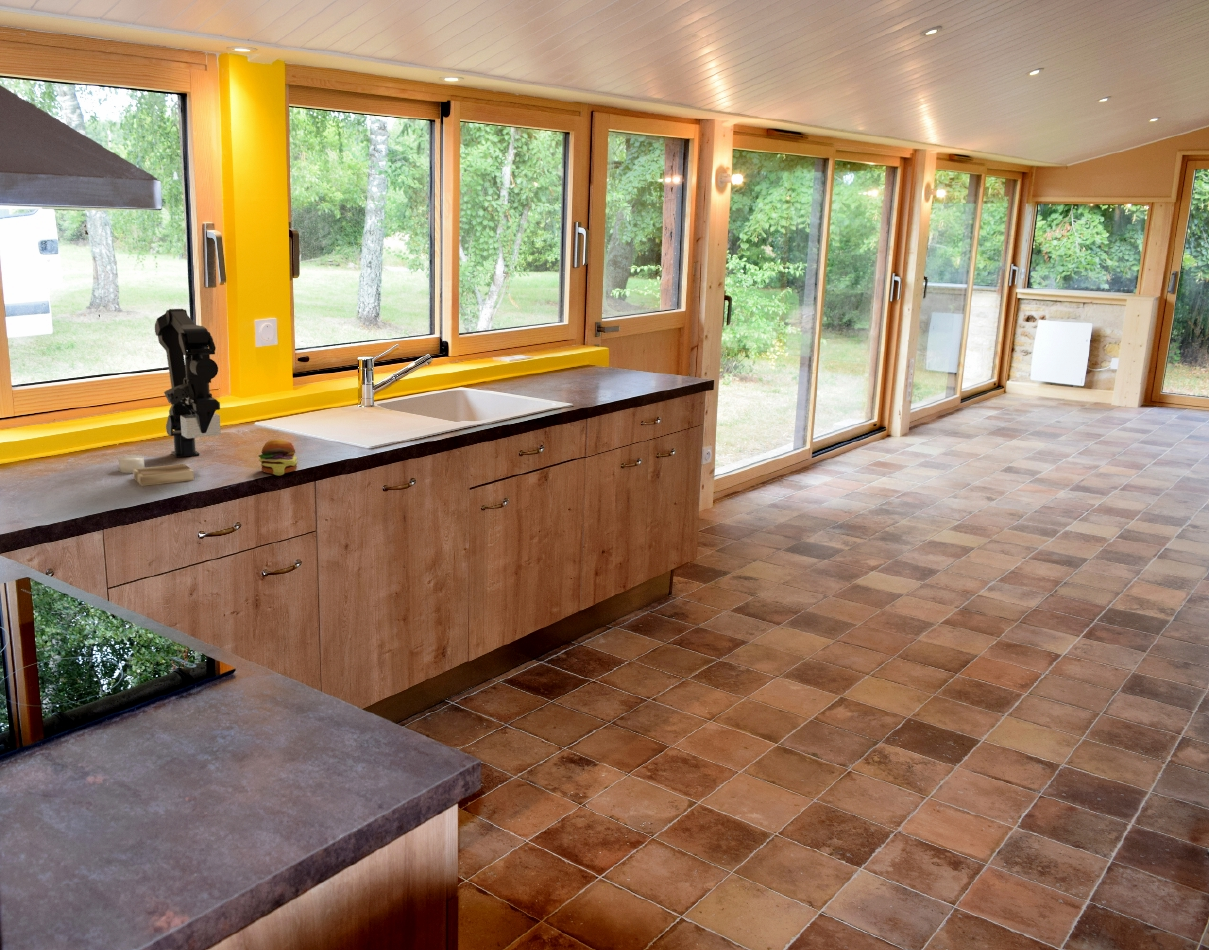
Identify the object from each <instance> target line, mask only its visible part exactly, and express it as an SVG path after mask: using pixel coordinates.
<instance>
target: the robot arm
mask: <svg viewBox="0 0 1209 950" xmlns="http://www.w3.org/2000/svg"><path fill="white" fill-rule="evenodd" d="M154 334H155V336H156V337H157V339H158V343H159V344H160V346H161V347H162V348H163V349H164V350H165V352H166V359H167V366H168V373H169V379H170V387H171V388H169V389H167V390H165V391H163V393H164V396H165V398H166V400H167V401H168V403H169V404H170V408H169V410H168V412H169V413H168V415H167V421H166V426H165V429H166V434H167V435H168V436H170V437H173V446H174V451H171V454H172V455H173V456H174V457H175V458H184V457H194V456H199V455H200V453H199V451H197V450H196V438H186V437H184V436H182V434H181V419H180V415H190V414H195V413H196V414H197V416H198V420H199V425H200V429H201V433H206V432H207V429H208V427H209V424H210V422H211V419H212V417H213V415H214V413H216V411H219V410H221V403H220V401H219V400H217V399H216V398H215V397H213V394H212V393H211V392H210V384H211V383H212V380H213V379H214V378H216V376H217V375H218V372H219V367H218V364H217V362H216V361H215V360H214V359H212V358H211V357H210V355H216V348H217V347H216V345H215V341H214V338H213V336H212V335H211V332H210V331H209V330H208V329H207V328H206V327H205V326H202V325H199V324H198V325H197V324H195V322H194V321H193V320H192V318H191V317H190V316H189V315H188V312H187V310H186V309H184V308H170V309H167V310H166V311H165V313H164V314H162V315H161V316H159V317H157V319H156V321H155V323H154Z"/></svg>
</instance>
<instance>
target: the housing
mask: <svg viewBox="0 0 1209 950" xmlns="http://www.w3.org/2000/svg"><path fill="white" fill-rule="evenodd" d="M180 419H181V434H182V436H184V437H186V438H195V439H196V438H205V437H206V438H207V437H213V436H221V435H222V433H221V432H222V431H221V415H220V414H219V413H217V412H215V413H214V415H213V417H212V419H211V422H210V424H209V427H208V429H207V432H206V433H201V429H200V425H199V420H198V416H197V414H196V413H195V414H190V415H180Z"/></svg>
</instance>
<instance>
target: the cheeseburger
mask: <svg viewBox="0 0 1209 950" xmlns="http://www.w3.org/2000/svg"><path fill="white" fill-rule="evenodd" d="M295 454H296V449H295V446H294V445H293V443H292V442H290V441H287V440H283V439H279V438H275V439H270V440H268V441H266V442H265V443H264V445H263V447H262V449H261V454H258V458H259V462H260V467H261V472H263V473H267V474H272V475H275V476H283V475H285V474H288V473H291V472H294V471H296V470H297V467H298V466H297V464H298V458H297V455H295Z"/></svg>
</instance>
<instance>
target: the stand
mask: <svg viewBox="0 0 1209 950" xmlns="http://www.w3.org/2000/svg"><path fill="white" fill-rule="evenodd" d="M132 474H133V479H134V480H135V481H136V482H137V483H138V484H139V485H140V486H142V487H145V486H153V485H161V484H163V485H164V484H170V483H179V482H188V481H194V480H195V478H194V477H195V476H194V475H195V474H194V470H193V469H192V468H190V467H189V466H188V465H187V464H186V463H178V464H170V465H169V464H168V465H161V466H160V465H159V466H150V467H145V468H139V469H133V473H132Z"/></svg>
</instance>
